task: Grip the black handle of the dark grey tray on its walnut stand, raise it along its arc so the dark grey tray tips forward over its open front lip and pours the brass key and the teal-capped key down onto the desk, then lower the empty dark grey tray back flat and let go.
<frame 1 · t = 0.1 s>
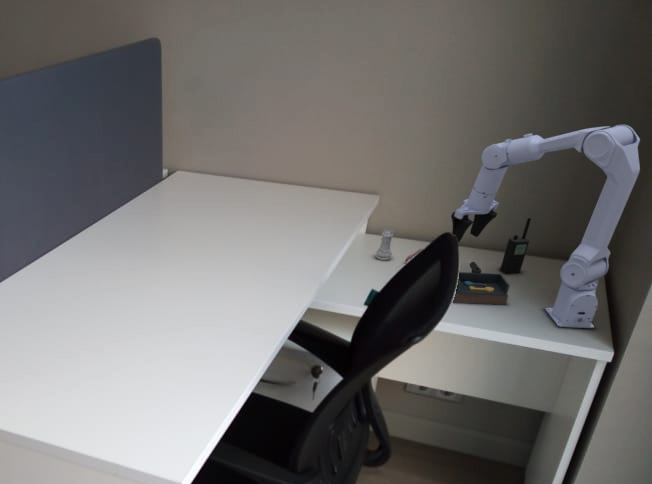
hand: (464, 237, 193), 10 cm above the table, tool pointing down, fingers open, 7 cm apart
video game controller: (417, 270, 201), on the table
stand: (474, 297, 186), on the table
walkie-talkie: (509, 271, 200), on the table
teal key: (475, 285, 185), point 3 cm above the table, touching dark grey tray
rook chess piece: (382, 258, 209), on the table
dark grey tray: (477, 277, 185), point 5 cm above the table, hinge at 0.0°, touching brass key, teal key
brass key: (481, 290, 183), point 3 cm above the table, touching dark grey tray
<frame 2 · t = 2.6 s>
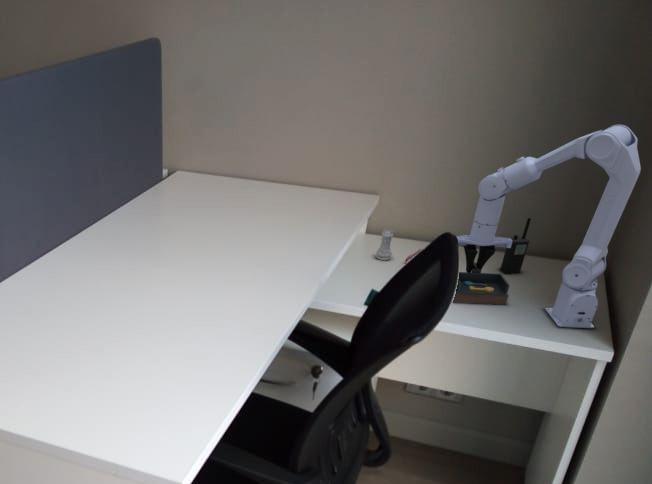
hand: (472, 272, 189), 4 cm above the table, tool pointing down, fingers closed on dark grey tray, 2 cm apart
dark grey tray: (477, 277, 185), point 5 cm above the table, hinge at 0.0°, touching brass key, gripper, teal key
everything else where it was.
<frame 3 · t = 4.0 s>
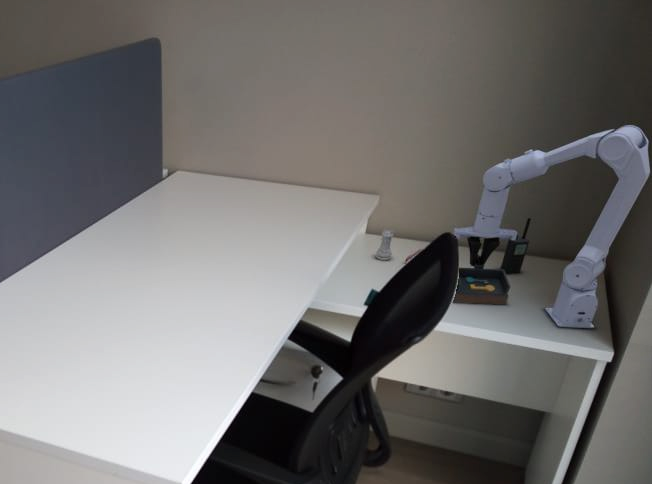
hand: (476, 264, 186), 7 cm above the table, tool pointing down, fingers closed on dark grey tray, 2 cm apart
teal key: (476, 281, 185), point 4 cm above the table, tilted 14°, touching dark grey tray
dark grey tray: (479, 274, 184), point 6 cm above the table, hinge at 13.7°, touching brass key, gripper, teal key
brass key: (481, 289, 182), point 3 cm above the table, tilted 14°, touching dark grey tray
everything else where it was.
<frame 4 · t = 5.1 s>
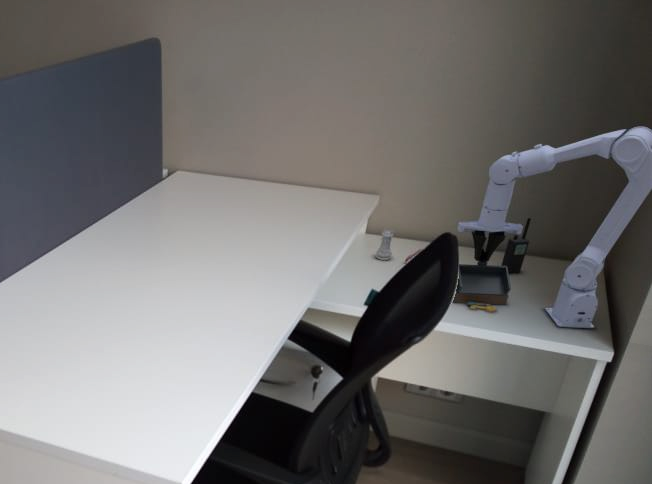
hand: (481, 259, 183), 9 cm above the table, tool pointing down, fingers closed on dark grey tray, 2 cm apart
teal key: (478, 305, 182), on the table, tilted 19°, touching brass key
dark grey tray: (481, 271, 182), point 7 cm above the table, hinge at 29.6°, touching gripper
brass key: (482, 306, 180), point 1 cm above the table, tilted 178°, touching teal key
everything else where it was.
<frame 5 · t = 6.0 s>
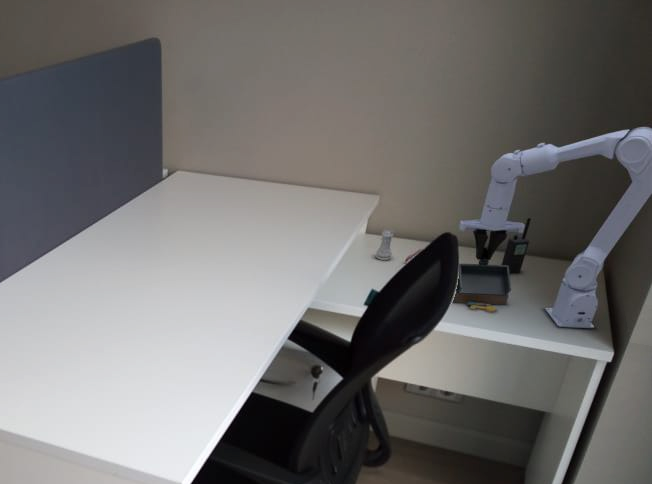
hand: (482, 258, 182), 10 cm above the table, tool pointing down, fingers closed on dark grey tray, 2 cm apart
dark grey tray: (482, 270, 182), point 8 cm above the table, hinge at 35.7°, touching gripper
everything else where it was.
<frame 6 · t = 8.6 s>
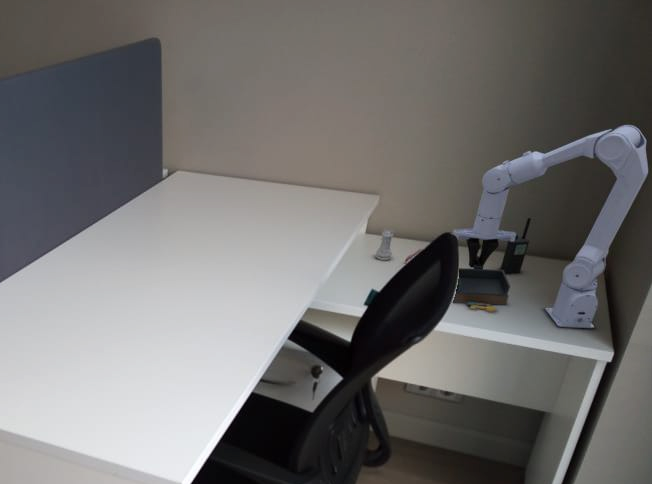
hand: (475, 266, 187), 6 cm above the table, tool pointing down, fingers closed on dark grey tray, 2 cm apart
dark grey tray: (479, 274, 184), point 6 cm above the table, hinge at 11.5°, touching gripper
everything else where it was.
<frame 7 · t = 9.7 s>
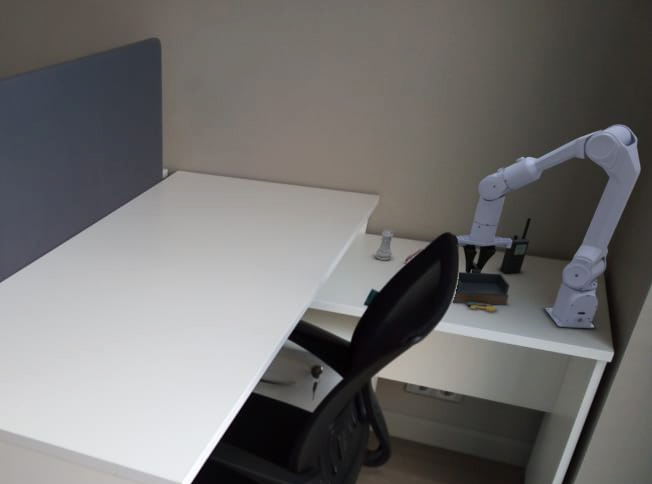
hand: (472, 272, 189), 4 cm above the table, tool pointing down, fingers closed
dark grey tray: (477, 277, 185), point 5 cm above the table, hinge at -0.4°
everything else where it was.
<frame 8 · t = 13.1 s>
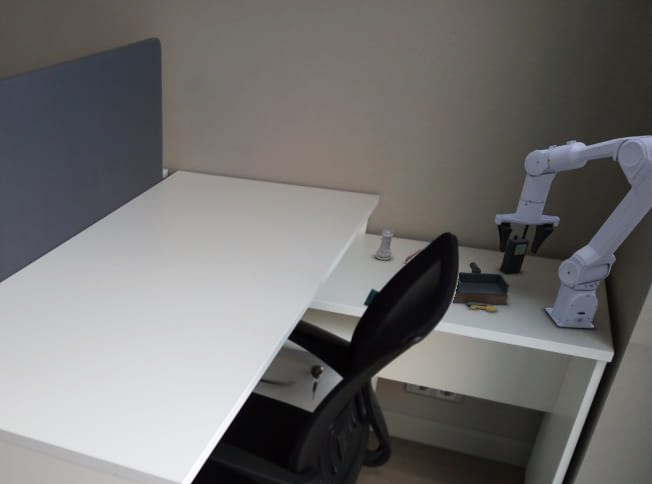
hand: (517, 251, 186), 10 cm above the table, tool pointing down, fingers open, 7 cm apart
nothing on the table moved.
at the end: brass key inside the target area under the dark grey tray (3.3 cm from its centre), point -1.9 cm above the dark grey tray's base; teal key inside the target area under the dark grey tray (4.9 cm from its centre), point -2.2 cm above the dark grey tray's base; dark grey tray at +0° (first picture: +0°) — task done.
